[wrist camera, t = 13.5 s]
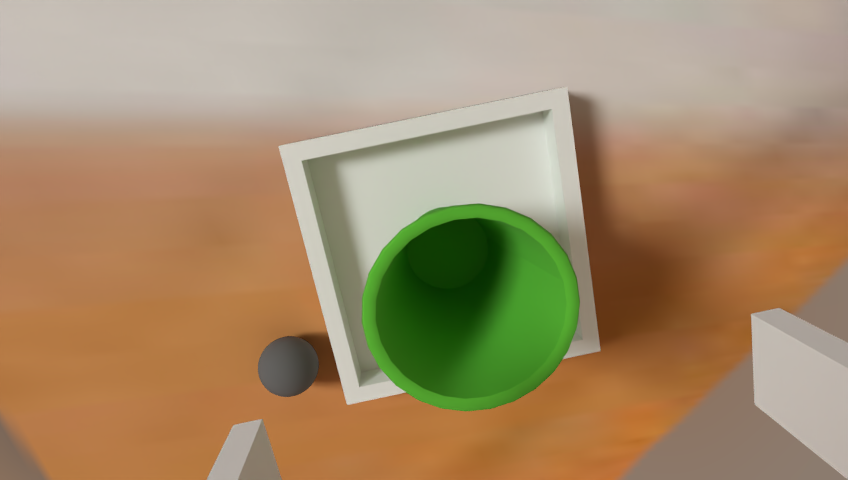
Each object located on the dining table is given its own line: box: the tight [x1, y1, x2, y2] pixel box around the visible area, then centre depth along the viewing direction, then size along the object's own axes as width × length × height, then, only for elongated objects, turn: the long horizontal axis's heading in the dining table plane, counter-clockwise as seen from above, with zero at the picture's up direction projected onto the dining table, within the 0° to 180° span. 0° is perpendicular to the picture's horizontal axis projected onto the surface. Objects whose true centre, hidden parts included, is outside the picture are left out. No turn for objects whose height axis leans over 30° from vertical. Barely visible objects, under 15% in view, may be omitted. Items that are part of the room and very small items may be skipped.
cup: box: [362, 203, 580, 411], centre depth 26 cm, size 9×9×11 cm
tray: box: [279, 87, 601, 405], centre depth 31 cm, size 16×16×2 cm
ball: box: [258, 336, 319, 397], centre depth 32 cm, size 4×4×4 cm
